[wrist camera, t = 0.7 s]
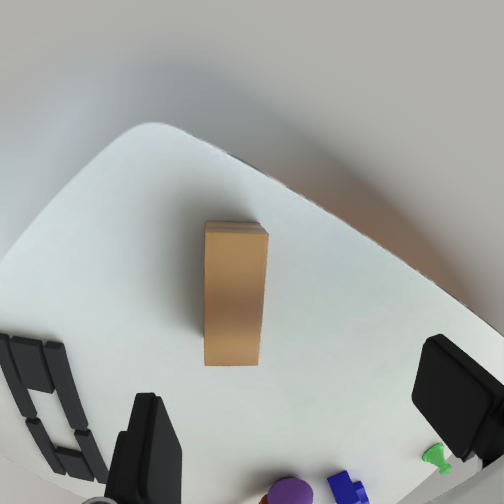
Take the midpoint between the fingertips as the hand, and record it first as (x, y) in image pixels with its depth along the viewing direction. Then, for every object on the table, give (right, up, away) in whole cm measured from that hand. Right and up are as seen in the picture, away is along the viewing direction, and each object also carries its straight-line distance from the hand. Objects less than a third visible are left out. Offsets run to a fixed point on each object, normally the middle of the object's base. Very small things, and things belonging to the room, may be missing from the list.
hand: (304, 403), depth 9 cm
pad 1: (-24, -9, +15) cm, 30 cm away
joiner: (-3, +2, +15) cm, 16 cm away
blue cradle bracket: (+13, -32, +27) cm, 44 cm away
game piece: (+29, -29, +29) cm, 50 cm away
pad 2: (-25, -20, +19) cm, 37 cm away
